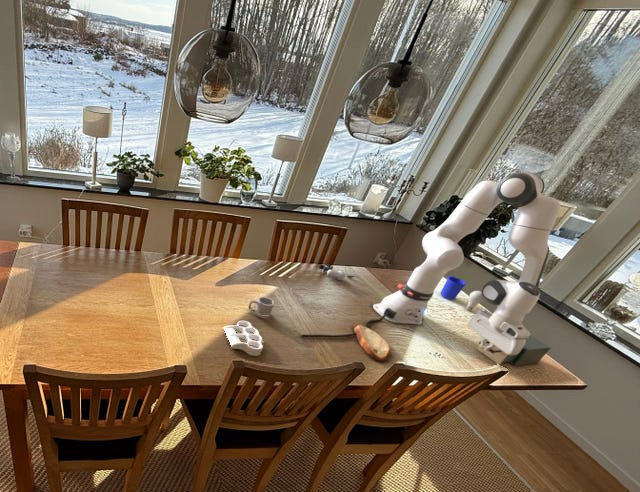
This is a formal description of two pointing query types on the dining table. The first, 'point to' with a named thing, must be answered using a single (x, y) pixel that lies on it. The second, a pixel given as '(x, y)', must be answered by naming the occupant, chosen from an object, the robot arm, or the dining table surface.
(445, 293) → the mug
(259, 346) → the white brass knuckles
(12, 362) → the dining table surface
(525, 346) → the cabinet
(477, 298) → the lightbulb
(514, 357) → the drawer
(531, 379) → the dining table surface
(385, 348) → the bread slice
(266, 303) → the mug
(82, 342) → the dining table surface
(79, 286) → the dining table surface
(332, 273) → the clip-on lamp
